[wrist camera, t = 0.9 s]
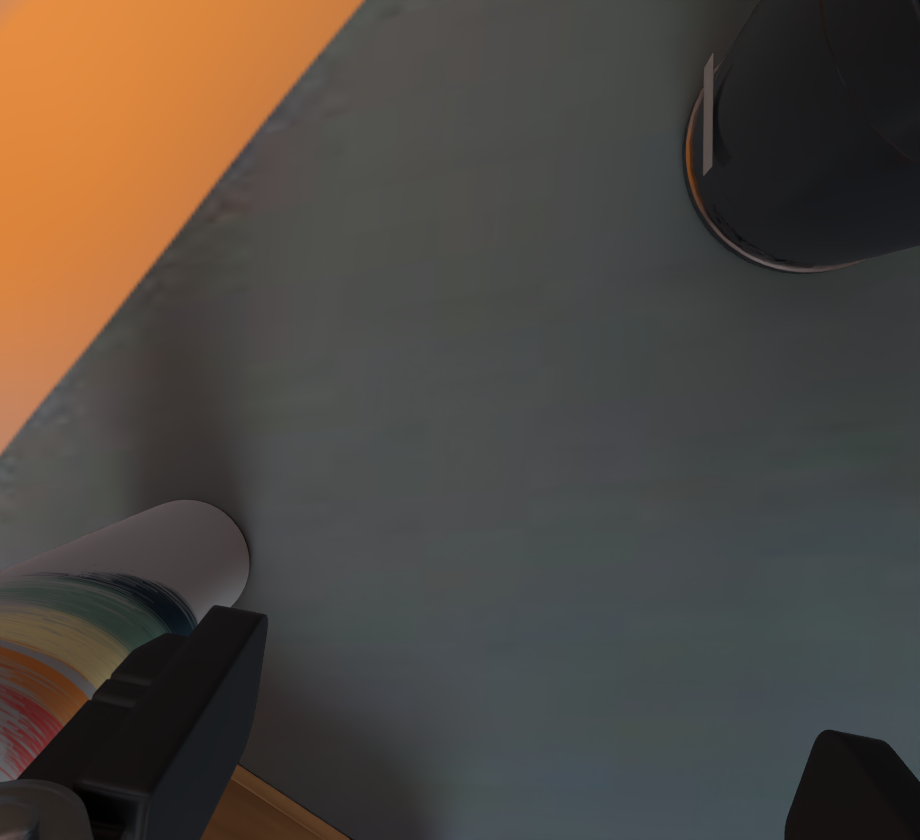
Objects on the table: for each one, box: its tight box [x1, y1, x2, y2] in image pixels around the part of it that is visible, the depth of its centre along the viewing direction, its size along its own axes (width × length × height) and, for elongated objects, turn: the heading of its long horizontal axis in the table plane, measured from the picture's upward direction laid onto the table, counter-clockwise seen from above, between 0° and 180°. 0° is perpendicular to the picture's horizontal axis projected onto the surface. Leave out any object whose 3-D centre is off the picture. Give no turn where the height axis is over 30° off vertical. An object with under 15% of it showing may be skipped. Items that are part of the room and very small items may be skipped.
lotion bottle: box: [0, 500, 249, 782], centre depth 23 cm, size 6×6×20 cm
